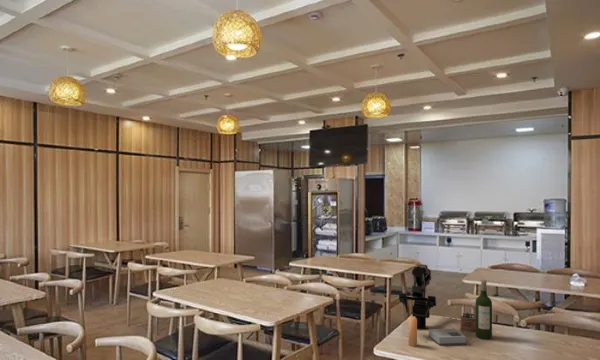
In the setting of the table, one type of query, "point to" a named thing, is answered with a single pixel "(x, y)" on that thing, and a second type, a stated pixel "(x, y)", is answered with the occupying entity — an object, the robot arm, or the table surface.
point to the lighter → (468, 322)
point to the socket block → (447, 337)
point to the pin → (413, 332)
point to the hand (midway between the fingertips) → (416, 313)
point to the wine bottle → (483, 314)
